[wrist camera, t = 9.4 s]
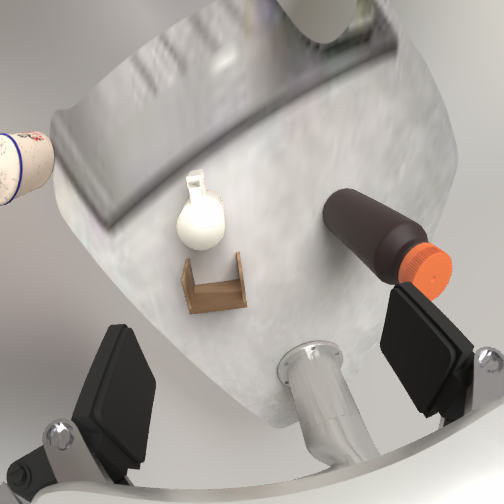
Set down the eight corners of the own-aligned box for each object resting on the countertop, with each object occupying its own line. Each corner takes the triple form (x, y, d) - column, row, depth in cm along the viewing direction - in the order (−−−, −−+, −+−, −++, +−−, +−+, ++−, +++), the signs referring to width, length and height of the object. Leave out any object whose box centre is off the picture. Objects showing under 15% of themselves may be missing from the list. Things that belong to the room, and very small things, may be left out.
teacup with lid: (55, 124, 28) (3, 127, 18) (59, 186, 32) (10, 209, 21) (2, 140, 27) (-48, 150, 16) (6, 195, 31) (-40, 218, 20)
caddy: (243, 283, 41) (247, 307, 35) (193, 290, 40) (189, 314, 35) (239, 251, 39) (242, 271, 33) (186, 258, 38) (181, 280, 33)
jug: (226, 223, 37) (227, 246, 30) (189, 228, 37) (181, 253, 29) (218, 165, 34) (217, 173, 27) (179, 171, 34) (167, 181, 26)
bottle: (356, 238, 40) (438, 315, 22) (316, 228, 39) (388, 310, 20) (371, 195, 37) (469, 250, 19) (330, 181, 36) (423, 232, 18)
